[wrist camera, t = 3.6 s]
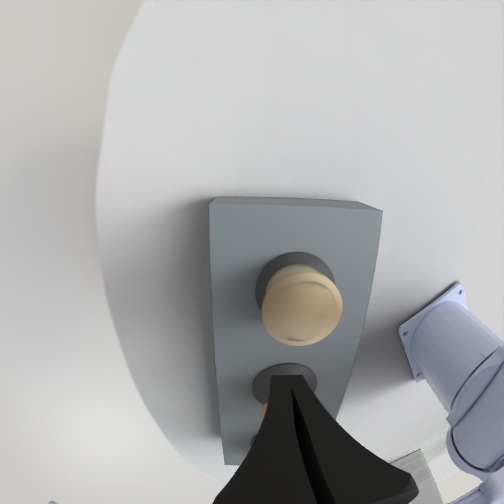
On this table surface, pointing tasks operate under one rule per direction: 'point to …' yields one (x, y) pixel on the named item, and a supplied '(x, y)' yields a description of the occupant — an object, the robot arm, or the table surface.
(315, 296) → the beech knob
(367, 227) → the console
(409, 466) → the skincare box
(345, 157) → the table surface
